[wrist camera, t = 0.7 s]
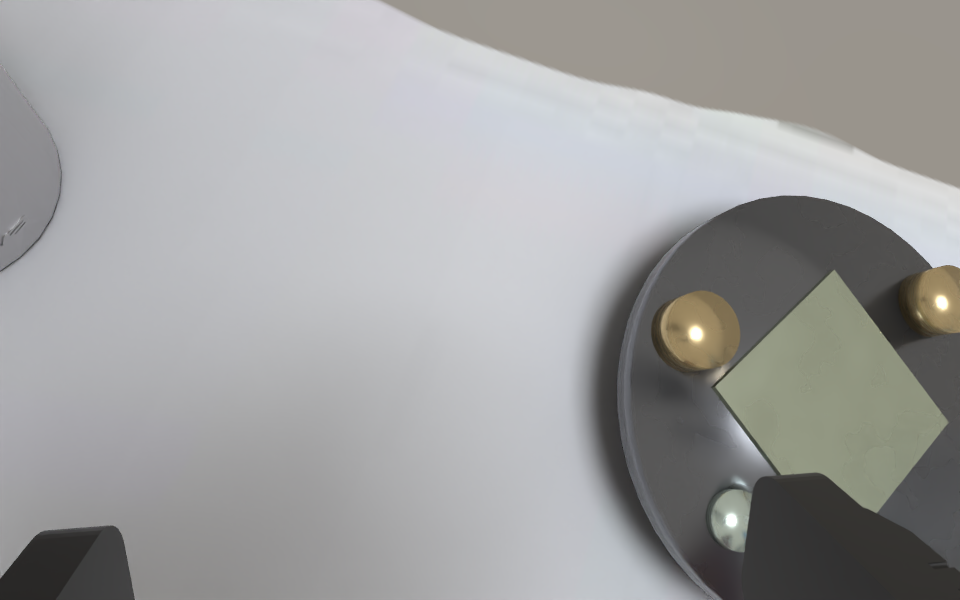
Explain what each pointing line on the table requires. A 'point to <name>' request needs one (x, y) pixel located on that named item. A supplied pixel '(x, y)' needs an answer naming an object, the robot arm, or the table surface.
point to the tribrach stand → (791, 378)
